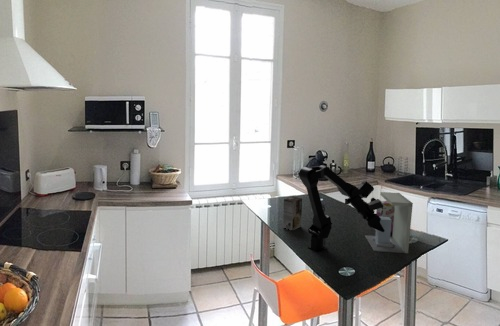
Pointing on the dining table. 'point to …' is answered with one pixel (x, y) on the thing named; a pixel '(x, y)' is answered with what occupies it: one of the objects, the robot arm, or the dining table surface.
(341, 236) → the dining table surface
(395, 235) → the white open shelf
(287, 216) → the coffee box
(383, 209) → the candy bar box
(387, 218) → the tall gray box
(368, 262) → the dining table surface
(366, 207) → the robot arm
